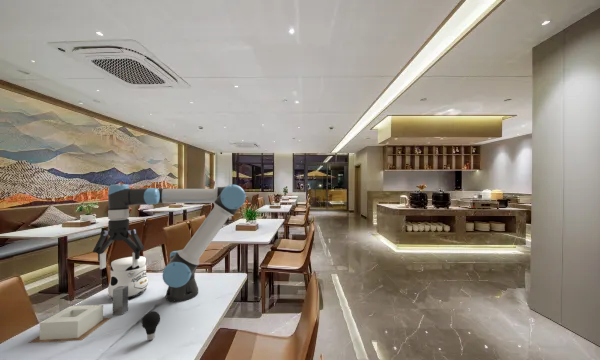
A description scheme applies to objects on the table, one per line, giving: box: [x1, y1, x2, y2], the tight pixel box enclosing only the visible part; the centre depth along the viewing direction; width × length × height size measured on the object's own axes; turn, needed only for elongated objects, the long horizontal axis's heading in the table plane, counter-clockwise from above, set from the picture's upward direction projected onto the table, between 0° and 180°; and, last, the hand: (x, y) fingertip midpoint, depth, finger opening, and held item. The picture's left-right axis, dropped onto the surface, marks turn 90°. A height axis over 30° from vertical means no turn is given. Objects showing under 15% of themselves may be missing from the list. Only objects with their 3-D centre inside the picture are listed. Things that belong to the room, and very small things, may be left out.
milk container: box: [107, 255, 149, 299], centre depth 133 cm, size 17×17×18 cm
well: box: [39, 304, 104, 340], centre depth 98 cm, size 13×13×6 cm
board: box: [27, 317, 113, 344], centre depth 98 cm, size 18×16×1 cm
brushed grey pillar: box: [112, 286, 129, 316], centre depth 111 cm, size 4×4×12 cm
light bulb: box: [141, 310, 161, 341], centre depth 92 cm, size 6×6×10 cm
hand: (119, 267), depth 111 cm, fingers open, 13 cm apart
